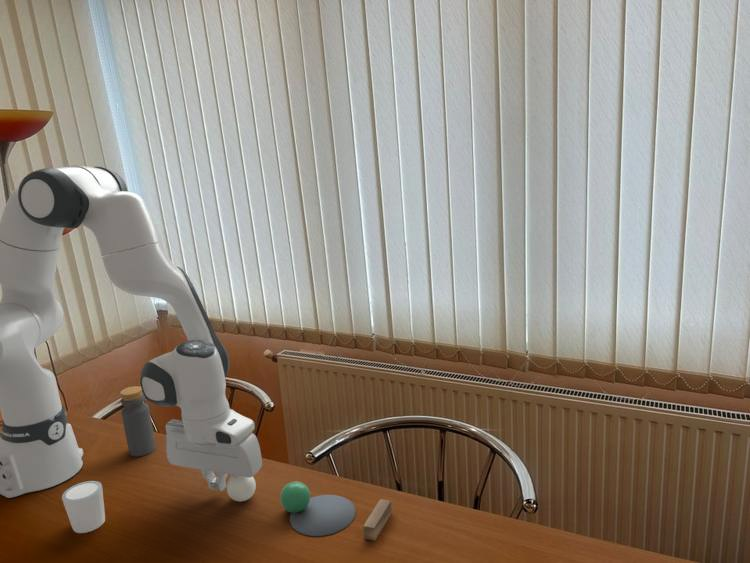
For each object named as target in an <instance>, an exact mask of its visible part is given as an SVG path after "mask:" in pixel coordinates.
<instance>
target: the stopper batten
mask: <svg viewBox="0 0 750 563" xmlns="http://www.w3.org/2000/svg"><path fill="white" fill-rule="evenodd" d="M392 511H393V510H392V501H391V500H388V499H383V498H380V499H379V500H378V502H377V504H376V505H375V507H374V508H373V510H372V512H371V513H370V515H369V516H368V518H367V519H366V521H365V523H364V524H363V526H362V527H363V538H364V539H365V540H369V541H375V542H376V541H377V539H378V537H379V535H380V534H381V532H382V530H383V529H384V527H385V525H386V523H387V522H388V520H389V518H390V517H391V515H392V513H393V512H392Z"/></svg>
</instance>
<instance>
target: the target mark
mask: <svg viewBox="0 0 750 563" xmlns="http://www.w3.org/2000/svg"><path fill="white" fill-rule="evenodd" d="M355 516H356V507H355V505H354V503H353V502H352V501H351V500H350V499H348V498H346V497H344V496H341V495H338V494H321V495H316V496H312V497H310V502H309V504H308V506H307V507H306V508H305V509H304V510H303V511H301V512H298V513H291V512H290V516H289V521H290V526H291V528H292V529H294V530H295V531H296V533H297V532H298V533H299V534H302V535H304V536H310V537H323V536H324V537H325V536H329V535H334V534H336V533H339V532H340V531H342V530H344V529H346V528H347V527H348V526H350V524H352V522H353V521H354V519H355Z"/></svg>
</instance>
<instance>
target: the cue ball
mask: <svg viewBox="0 0 750 563" xmlns="http://www.w3.org/2000/svg"><path fill="white" fill-rule="evenodd" d="M256 488H257V486H256V480H255V478H254V475H253V476H252V477H251V478H248V477H242V476H236V475H230V477H229V478H228V481H227V482H226V492H227V494H228V496H229V497H230V498H231V500H233V501H235V502H240V503H241V502H246V501H247V500H249V499H250V498H252V496H253V495H254V494H255V492H256Z"/></svg>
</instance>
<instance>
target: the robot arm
mask: <svg viewBox="0 0 750 563" xmlns="http://www.w3.org/2000/svg"><path fill="white" fill-rule="evenodd" d="M19 183H20V184H19V186H18V188H15V189H14V190H13V191H12V192H11V193H10V194H9V197H8V199H7V200H6V204H5V206H4V208H3V212H2V215H1V218H0V289H1V299H0V413H1V415H2V420H1V421H0V428H1V432H0V495H1V496H4V497H5V498H8V499H10V498H11V499H12V498H16V497H18V496H22V495H25V494H27V493H33V492H37V491H42V490H46V489H49V488H52V487H55V486H57V485H59V484H62V483H63V482H66V481H67V480H69V479H71V478H72V477H74V476H75V475H76V474H77V473H79V472H80V470H81V468H82V467H83V464H84V462H83V460H82V458H83V456H84V450H83V448H82V447H79V446H78V443H77V439H76V436H75V434H74V430H73V428H72V425H71V424H70V423H68V417H67V412H66V409H65V407H64V405H62V402H61V397H60V392H59V387H58V384H57V379H56V378H57V377H56V376H55V374H54V373H53V372H52V371H51V370H49V369H48V368H44V367H42V366H41V364H40V363H39V361H38V359H37V358H36V357H37V356H36V354H35V348H37V347H39V346H40V345H42V344H43V343H45V342H46V341H48V340H50V339H51V337H53V335H54V334H56V332H57V331H58V330H59V329H60V327H61V326H62V324H63V322H64V316H65V315H64V310H63V307H62V305H61V304H60V302H59V301H58V300H57V299H56V298H57V297H56V292H55V279H56V278H55V277H56V271H57V266H58V261H59V255H60V250H61V244H62V240H63V239H62V238H63V233H64V230H65V229H73V230H75V229H78V228H79V227H80V226H83V227H85V228H88V229H89V230H90V231H91V232H92V233H93V235H94V236H95V239H96V241H97V244H98V249H99V251H100V255H101V259H102V262H103V265H104V268H105V271H106V274H107V276H108V278H109V279H110V281H111V283H112V284H113V285H114V286H116V287H117V289H120V290H121V291H123V292H124V293H128V294H131V295H134V296H140V297H149V298H157V299H161V300H163V301H166V302H167V303H168V304H169V305H170V306H171V308H172V309H173V311H174V312H175V315H176V317H177V319H178V321H179V323H180V325H181V327H182V330H183V331H184V334H185V336H186V338H187V341H183V342H181V343H179V344H177V345H176V347H175V348H174V350H172V351H170V352H169V351H168V352H166V353H164V354H161V355H159V356H157V357H154V358H152V359H150V360H149V361H147V362H145V364H143V366H142V369H141V370H140V379H139V380H140V382H139V383H140V387H141V389H142V394H144V396H145V400H147V401H148V402H150V403H152V404H154V405H156V406H160V407H166V408H167V407H169V408H171V407H175V406H176V407H179V408H180V410H181V420H179V419H175V418H173V419H170V420H169V421H168V422H167V423H166V424H165V431H166V432H165V434H166V437H165V449H166V458H167V461H168V462H169V463H170V464H171V465H172V466H178V467H184V468H189V469H196V470H200V472H201V475H202V476H203V478H204V479H205V481H206V482H207V485H208V489H209V490H216V491H221V492H223V491H224V490H225V489H227V481H226V479H227V477H228V476H232V475H236V476H242V477H248V478H251V477H252V476H253V477H254V476H255V475H256V474H257V473H258V472H259V470H261V468H262V467H263V460H262V459H263V458H262V453H261V447H260V443H259V441H258V440H259V439H258V438H257V436H256V435H255V433H253V432H254V430H255V429H256V428H255V426H256V425H255V421H254V420H252V419H251V418H249V417H246V416H245V415H242V414H240V413H239V412H236V411H235V410H234V409H232V408H230V404H229V401H228V399H227V396H226V388H227V383H226V378H227V376H228V374H229V373H228V372H229V370H230V369H229V368H230V356H229V354H228V350H227V349H226V348H225V346H224V344H223V342H221V340H220V338H219V337H218V336H217V334H216V332H215V329H214V327H213V326H212V323H211V321H210V318H209V316H208V314H207V312H206V310H205V308H204V305H203V303H202V301H201V300H200V297H199V294H198V293H197V290H196V288H195V286H194V284H193V283H192V281H191V279H190V277H189V276H188V274H187V273H186V271H185V270H184V269H183V268H182V267H179V266H176V264H175V263H174V262H173V261H172V260H171V258H170V257H169V255H168V253H167V251H166V250H165V247H164V245H163V242H162V239H161V235H160V232H159V231H158V227H157V224H156V223H155V220H154V217H153V216H152V213H151V211H150V209H149V207H148V206H147V203H146V202H145V200H144V198H143V197H141V195H139V194H137V193H135V192H133V191H128V186H127V183H126V181H125V180H124V179H123V177H122V176H121V175H119V173H117V172H115V171H113V170H111V169H108V168H106V167H102V166H87V165H70V166H64V167H63V166H60V167H55V168H54V167H45V168H41V169H36V170H35V171H32V172H30V173H27V175H26V176H24V178H23V179H22V180H21V181H20V182H19ZM215 473H216V474H215Z"/></svg>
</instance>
